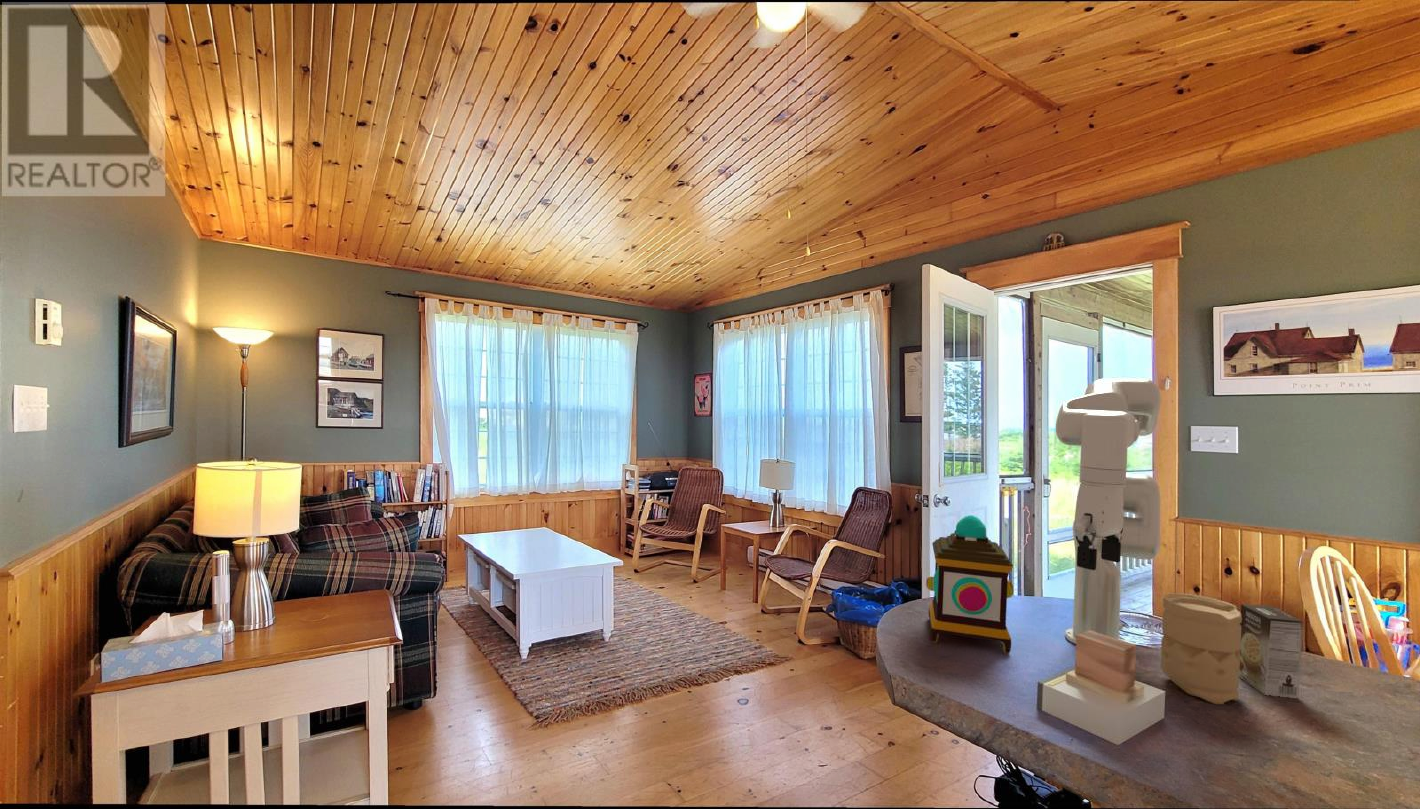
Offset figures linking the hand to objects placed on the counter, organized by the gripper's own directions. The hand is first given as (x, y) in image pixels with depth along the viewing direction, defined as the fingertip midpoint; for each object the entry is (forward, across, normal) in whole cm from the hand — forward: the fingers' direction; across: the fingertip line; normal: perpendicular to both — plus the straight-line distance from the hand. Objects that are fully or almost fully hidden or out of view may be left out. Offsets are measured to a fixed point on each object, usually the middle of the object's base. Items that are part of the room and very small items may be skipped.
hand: (1098, 564), depth 117 cm
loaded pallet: (+22, +3, +3) cm, 23 cm away
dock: (+27, +4, +3) cm, 27 cm away
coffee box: (+28, -40, +16) cm, 52 cm away
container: (+28, -25, +9) cm, 39 cm away
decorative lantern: (+28, -8, -32) cm, 44 cm away
